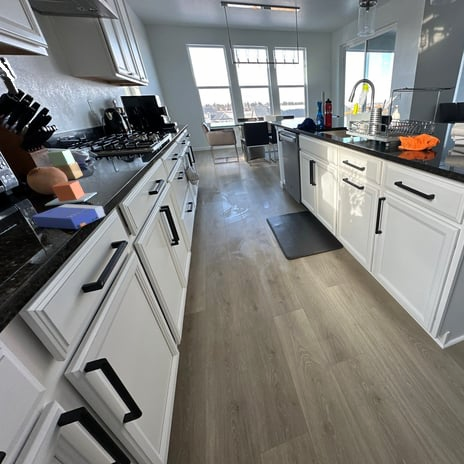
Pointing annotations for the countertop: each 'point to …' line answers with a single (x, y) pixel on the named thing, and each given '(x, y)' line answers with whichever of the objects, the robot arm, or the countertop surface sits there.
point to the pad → (81, 199)
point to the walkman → (69, 216)
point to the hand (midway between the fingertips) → (4, 93)
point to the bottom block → (70, 170)
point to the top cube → (68, 190)
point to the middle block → (61, 157)
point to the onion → (45, 179)
